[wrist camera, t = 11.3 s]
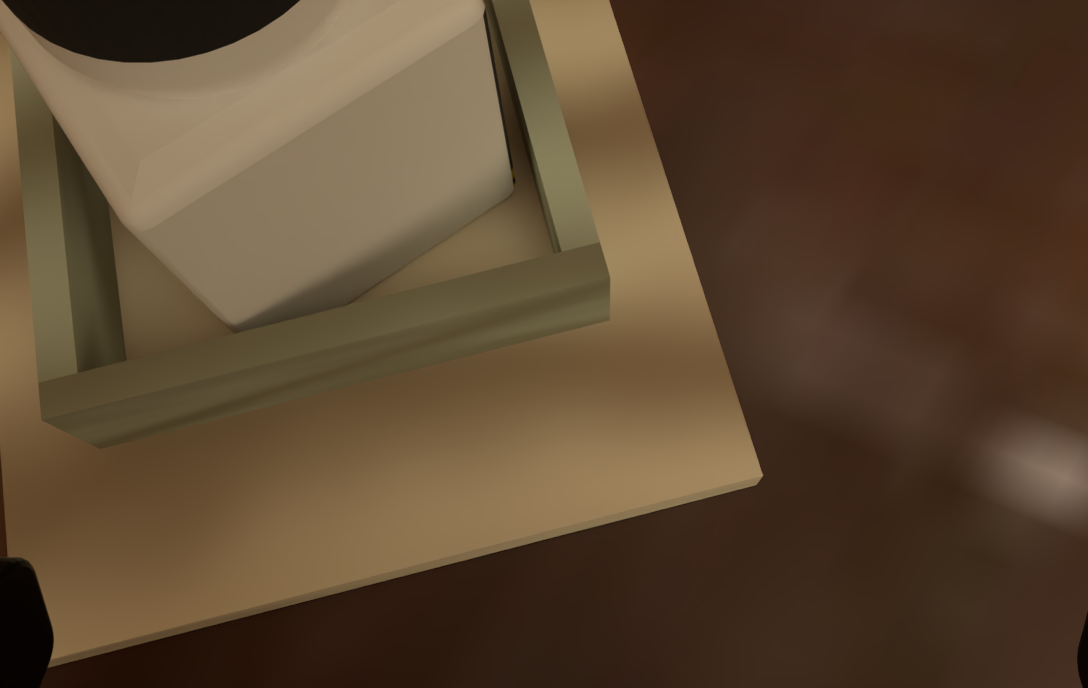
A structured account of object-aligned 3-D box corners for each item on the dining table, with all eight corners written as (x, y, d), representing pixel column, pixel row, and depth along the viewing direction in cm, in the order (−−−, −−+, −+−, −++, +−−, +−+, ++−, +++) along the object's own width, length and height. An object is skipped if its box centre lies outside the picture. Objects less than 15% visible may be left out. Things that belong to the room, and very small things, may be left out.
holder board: (756, 485, 23) (782, 448, 19) (40, 669, 22) (-59, 664, 19) (539, -192, 29) (530, -306, 26) (-16, -60, 29) (-98, -158, 25)
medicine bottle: (523, 193, 24) (450, -255, 13) (263, 366, 23) (-67, 47, 12) (362, -7, 26) (177, -545, 15) (117, 143, 25) (-283, -311, 14)
